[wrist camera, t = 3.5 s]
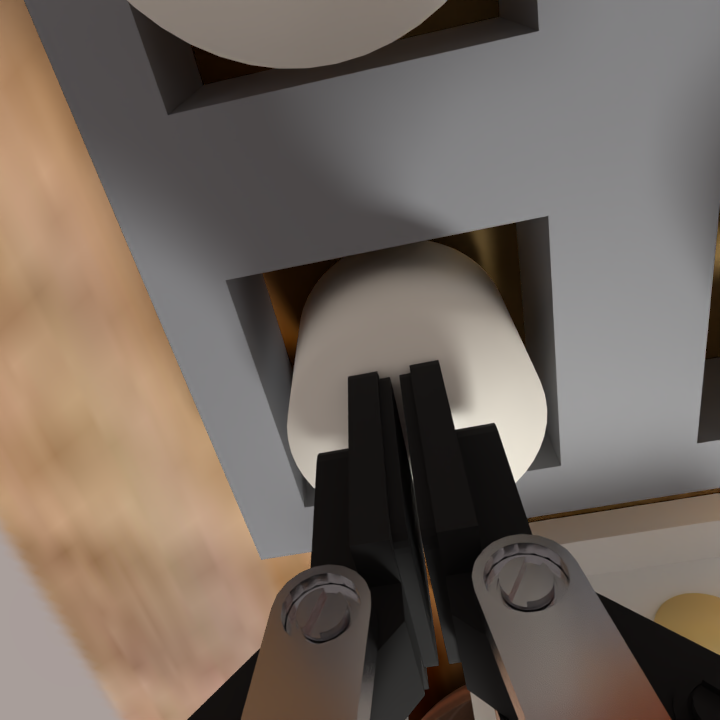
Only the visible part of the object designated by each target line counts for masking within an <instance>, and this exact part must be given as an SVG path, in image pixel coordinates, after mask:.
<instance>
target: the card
mask: <svg viewBox="0 0 720 720" xmlns="http://www.w3.org/2000/svg"><path fill="white" fill-rule="evenodd" d="M529 526H530V529H531V532H532V535H539V536H542V537H545V538H547V539H550V540H553V541H555V542H557V543H558V544H560V545H561V546H563V547H564V548H566V549H567V550H568V551H569V552H570V554H571V555H572V556H573V557H574V558H575V559H576V561H577V562H578V564H579V566H580V567H581V569H582V571H583V572H584V574H585V576H586V577H587V579H588V581H589V582H590V584H591V586H592V587H593V589H594V591H595V592H597V593H599V594H601V595H603V596H605V597H607V598H609V599H611V600H613V601H615V602H617V603H618V604H620V605H622V606H624V607H626V608H628V609H630V610H632V611H634V612H636V613H638V614H640V615H642V616H644V617H646V618H648V619H650V620H652V621H654V622H656V623H658V624H660V625H662V626H664V627H666V628H668V629H669V630H671V631H673V632H675V633H677V634H679V635H681V636H683V637H685V638H687V639H689V640H691V641H693V642H695V643H697V644H699V645H701V646H703V647H705V648H707V649H709V650H711V651H713V652H715V653H717V654H719V655H720V493H717V494H710V495H704V496H697V497H691V498H684V499H678V500H672V501H665V502H659V503H652V504H646V505H640V506H633V507H627V508H620V509H614V510H607V511H601V512H595V513H588V514H582V515H575V516H569V517H563V518H556V519H550V520H543V521H537V522H530V523H529ZM470 694H471V700H472V706H473V712H474V718H475V720H496V715H495V710H494V708H492V707H491V706H490V705H488V704H487V703H485V702H484V701H483V700H481V699H480V698H478V697H477V696H476V695H474V694H473V693H471V692H470Z"/></svg>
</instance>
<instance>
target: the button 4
mask: <svg viewBox="0 0 720 720" xmlns="http://www.w3.org/2000/svg"><path fill="white" fill-rule="evenodd" d="M435 360H439V364H440V368H441V372H442V376H443V380H444V385H445V389H446V393H447V397H448V401H449V405H450V410H451V414H452V418H453V422H454V426H455V430H456V429H461V428H467V427H473V426H479V425H484V424H490V423H495V424H496V427H497V429H498V432H499V435H500V438H501V441H502V444H503V447H504V450H505V453H506V456H507V459H508V462H509V465H510V468H511V471H512V474H513V477H514V480H515V483H516V482H517V481H518V480H519V479H520V478H521V477H522V476H523V474H524V473H525V472H526V471H527V469H528V468H529V467H530V465H531V464H532V462H533V461H534V459H535V457H536V455H537V453H538V451H539V449H540V447H541V444H542V441H543V438H544V435H545V430H546V424H547V405H546V398H545V393H544V390H543V387H542V384H541V381H540V379H539V377H538V375H537V373H536V371H535V368H534V366H533V364H532V362H531V360H530V358H529V355H528V353H527V351H526V349H525V347H524V345H523V342H522V340H521V338H520V336H519V334H518V331H517V329H516V327H515V325H514V323H513V321H512V318H511V316H510V314H509V312H508V310H507V308H506V305H505V303H504V301H503V299H502V297H501V295H500V293H499V291H498V289H497V287H496V285H495V283H494V282H493V280H492V279H491V278H490V276H489V275H488V274H487V273H486V272H485V271H484V270H483V268H482V267H481V266H480V265H479V264H477V263H476V262H475V261H473V260H472V259H471V258H469V257H468V256H467V255H465V254H463V253H461V252H459V251H457V250H456V249H453V248H451V247H448V246H446V245H443V244H439V243H435V242H431V241H426V240H425V241H420V242H415V243H410V244H405V245H400V246H395V247H390V248H385V249H380V250H375V251H370V252H365V253H360V254H355V255H350V256H346V257H344V258H342V259H341V260H340V261H338V262H337V263H336V264H334V265H333V266H332V267H331V268H330V269H329V270H328V271H327V272H326V273H325V274H324V275H322V277H321V278H320V279H319V281H318V282H317V283H316V284H315V286H314V287H313V289H312V291H311V292H310V294H309V296H308V298H307V300H306V303H305V305H304V308H303V311H302V315H301V319H300V326H299V334H298V341H297V349H296V356H295V364H294V372H293V379H292V387H291V394H290V402H289V410H288V420H287V433H288V442H289V446H290V449H291V453H292V456H293V458H294V460H295V462H296V465H297V466H298V468H299V470H300V471H301V473H302V474H303V476H304V477H305V478H306V480H307V481H308V482H309V483H310V484H311V485H312V487H313V488H315V480H316V462H317V456H318V454H319V453H324V452H329V451H335V450H341V449H347V448H348V377H349V376H353V375H359V374H364V373H370V372H375V371H377V372H378V375H379V379H380V378H386V377H390V378H391V382H392V387H393V391H394V396H395V400H396V405H397V410H398V414H399V419H400V423H401V428H402V433H403V437H404V442H405V446H406V451H407V456H408V460H409V465H410V469H411V474H412V468H411V460H410V453H409V445H408V438H407V431H406V423H405V416H404V408H403V401H402V393H401V386H400V378H399V375H402V374H408V373H410V367H409V365H413V364H418V363H424V362H429V361H435ZM412 479H413V475H412Z"/></svg>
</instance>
